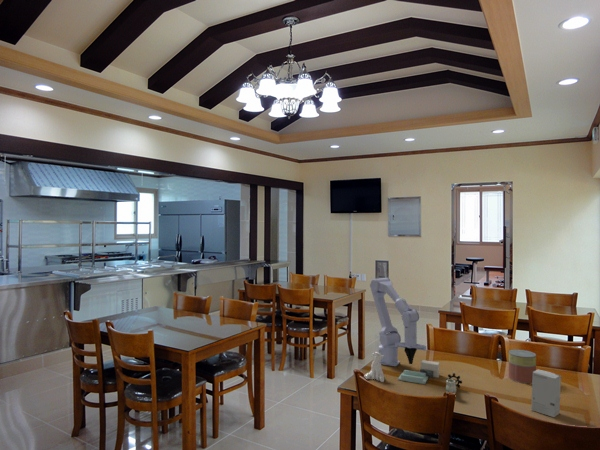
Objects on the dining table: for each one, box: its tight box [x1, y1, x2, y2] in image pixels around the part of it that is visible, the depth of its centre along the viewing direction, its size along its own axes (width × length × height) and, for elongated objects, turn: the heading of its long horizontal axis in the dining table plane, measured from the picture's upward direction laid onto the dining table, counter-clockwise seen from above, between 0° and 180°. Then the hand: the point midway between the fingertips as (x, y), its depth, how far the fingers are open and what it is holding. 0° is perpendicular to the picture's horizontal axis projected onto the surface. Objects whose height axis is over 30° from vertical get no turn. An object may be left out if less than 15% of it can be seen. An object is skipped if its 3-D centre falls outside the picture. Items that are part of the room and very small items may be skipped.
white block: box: [420, 359, 440, 378], centre depth 195 cm, size 8×4×6 cm, turn 63°
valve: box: [445, 372, 463, 394], centre depth 174 cm, size 7×7×12 cm
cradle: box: [397, 369, 429, 385], centre depth 190 cm, size 12×8×2 cm, turn 63°
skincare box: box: [530, 368, 562, 418], centre depth 156 cm, size 8×6×15 cm
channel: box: [419, 368, 434, 379], centre depth 196 cm, size 6×7×3 cm
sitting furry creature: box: [363, 351, 385, 383], centre depth 192 cm, size 10×9×12 cm
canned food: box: [508, 349, 537, 385], centre depth 189 cm, size 11×11×12 cm
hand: (410, 363), depth 199 cm, fingers closed
